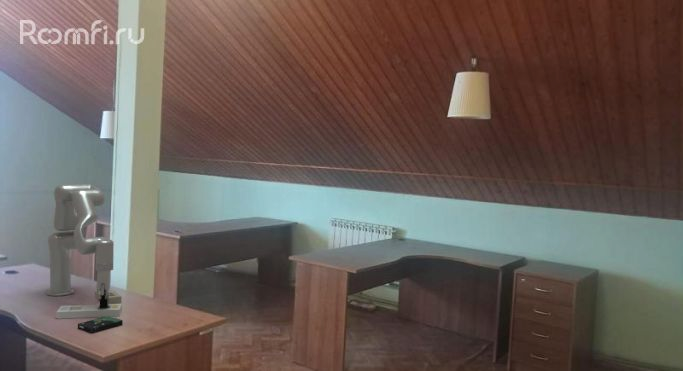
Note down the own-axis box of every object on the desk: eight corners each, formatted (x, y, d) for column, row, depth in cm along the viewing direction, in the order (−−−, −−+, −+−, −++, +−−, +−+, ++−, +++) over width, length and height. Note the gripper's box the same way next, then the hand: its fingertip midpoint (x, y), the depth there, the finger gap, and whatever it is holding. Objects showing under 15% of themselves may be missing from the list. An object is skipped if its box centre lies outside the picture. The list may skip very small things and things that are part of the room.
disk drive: (92, 335, 235) (123, 326, 248) (92, 328, 235) (123, 319, 247) (77, 330, 241) (108, 321, 253) (77, 323, 240) (108, 315, 253)
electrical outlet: (109, 287, 294) (121, 295, 280) (109, 295, 294) (121, 304, 280) (95, 289, 289) (106, 297, 275) (94, 297, 289) (106, 306, 275)
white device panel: (61, 312, 262) (61, 305, 262) (121, 309, 269) (121, 303, 269) (56, 318, 252) (56, 311, 252) (119, 316, 259) (119, 309, 259)
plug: (100, 308, 264) (100, 291, 263) (109, 308, 265) (109, 291, 264) (98, 311, 260) (99, 294, 259) (107, 311, 261) (108, 293, 260)
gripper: (98, 263, 268) (98, 301, 269) (92, 270, 252) (92, 311, 253) (115, 262, 270) (115, 300, 271) (111, 270, 254) (110, 311, 255)
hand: (104, 305), depth 262 cm, fingers closed on plug, 3 cm apart
